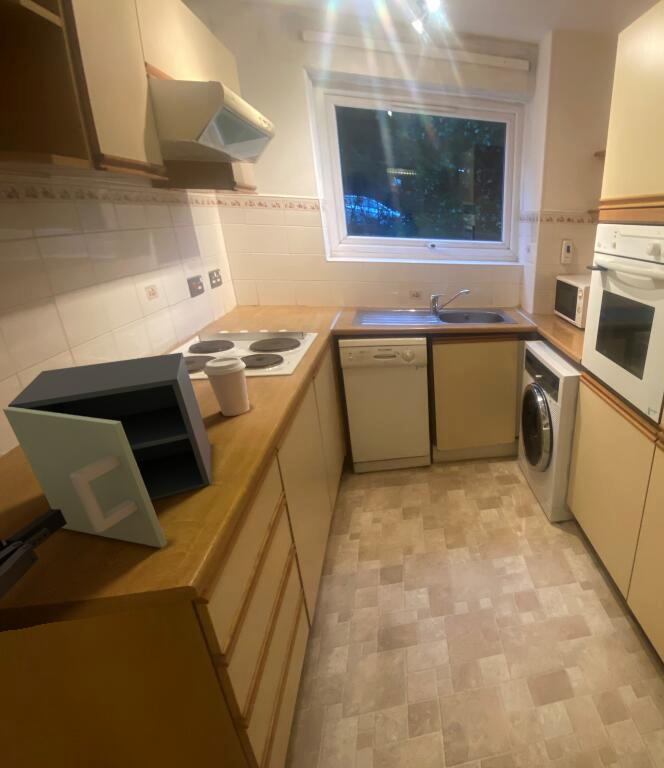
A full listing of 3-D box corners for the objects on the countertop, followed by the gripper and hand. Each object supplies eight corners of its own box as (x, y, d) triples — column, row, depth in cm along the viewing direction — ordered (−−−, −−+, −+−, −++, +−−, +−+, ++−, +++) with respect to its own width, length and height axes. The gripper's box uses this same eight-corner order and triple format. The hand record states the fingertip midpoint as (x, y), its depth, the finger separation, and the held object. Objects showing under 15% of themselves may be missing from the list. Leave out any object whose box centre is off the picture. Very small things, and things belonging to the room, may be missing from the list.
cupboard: (210, 486, 89) (177, 378, 80) (65, 525, 78) (7, 405, 69) (211, 447, 103) (182, 352, 94) (88, 476, 92) (42, 371, 83)
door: (127, 575, 68) (68, 443, 58) (21, 552, 72) (-49, 426, 63) (167, 545, 74) (120, 421, 65) (67, 525, 78) (10, 406, 69)
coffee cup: (261, 403, 126) (249, 354, 120) (248, 418, 117) (235, 366, 112) (225, 406, 124) (211, 356, 119) (209, 421, 116) (194, 368, 110)
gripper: (-204, 698, 45) (23, 537, 67) (-71, 693, 45) (111, 534, 67) (-252, 648, 42) (2, 497, 64) (-110, 643, 42) (94, 495, 64)
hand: (58, 516), depth 65 cm, fingers closed
